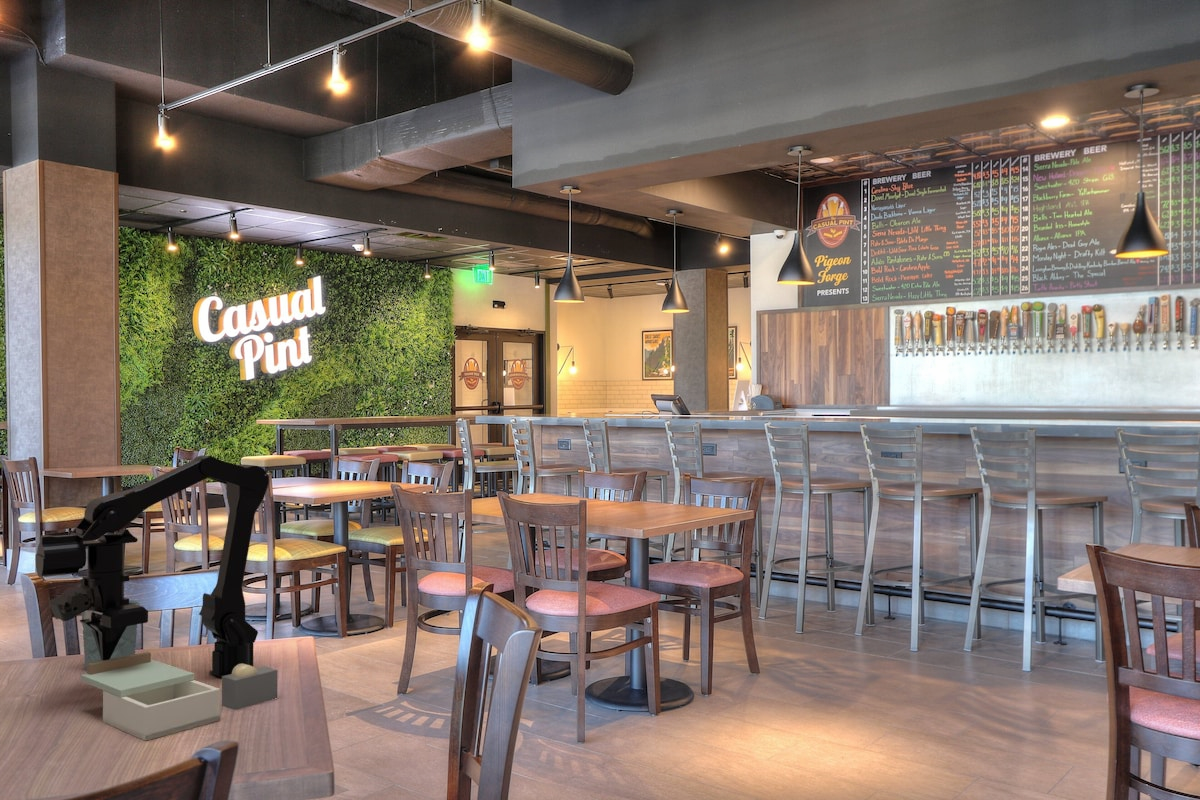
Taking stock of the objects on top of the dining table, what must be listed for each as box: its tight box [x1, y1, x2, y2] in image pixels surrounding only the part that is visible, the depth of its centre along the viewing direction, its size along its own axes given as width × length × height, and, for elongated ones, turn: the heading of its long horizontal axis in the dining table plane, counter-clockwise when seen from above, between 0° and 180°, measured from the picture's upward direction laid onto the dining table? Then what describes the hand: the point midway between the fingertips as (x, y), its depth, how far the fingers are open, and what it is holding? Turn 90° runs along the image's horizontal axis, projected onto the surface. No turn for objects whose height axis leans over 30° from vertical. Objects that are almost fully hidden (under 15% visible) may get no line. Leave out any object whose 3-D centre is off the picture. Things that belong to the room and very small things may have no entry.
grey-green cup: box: [80, 599, 141, 671], centre depth 181 cm, size 10×10×12 cm
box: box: [102, 679, 221, 742], centre depth 149 cm, size 12×14×5 cm
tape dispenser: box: [221, 663, 278, 711], centre depth 159 cm, size 8×4×7 cm, turn 142°
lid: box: [80, 651, 195, 697], centre depth 154 cm, size 12×14×3 cm
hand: (105, 660), depth 161 cm, fingers closed
